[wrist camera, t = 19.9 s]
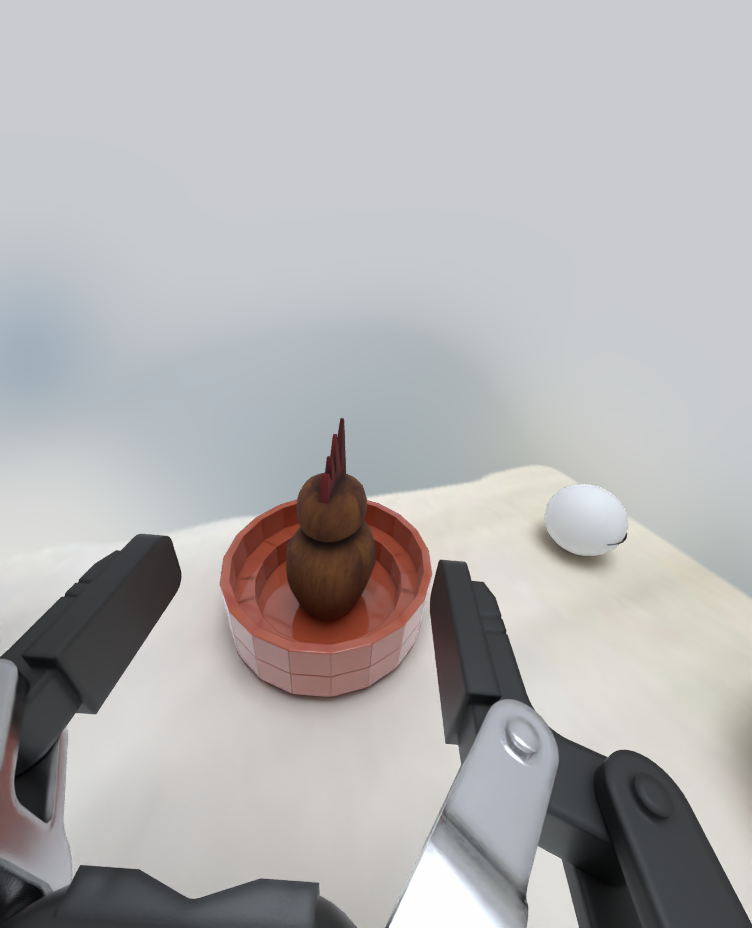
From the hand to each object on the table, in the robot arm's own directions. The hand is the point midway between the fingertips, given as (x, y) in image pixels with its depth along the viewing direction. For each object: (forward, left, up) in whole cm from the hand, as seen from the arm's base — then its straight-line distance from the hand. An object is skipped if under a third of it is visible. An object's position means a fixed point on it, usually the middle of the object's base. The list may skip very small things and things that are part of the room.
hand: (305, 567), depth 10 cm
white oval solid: (+25, +21, -16) cm, 37 cm away
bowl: (-1, +11, -16) cm, 20 cm away
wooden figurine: (-1, +11, -16) cm, 19 cm away
